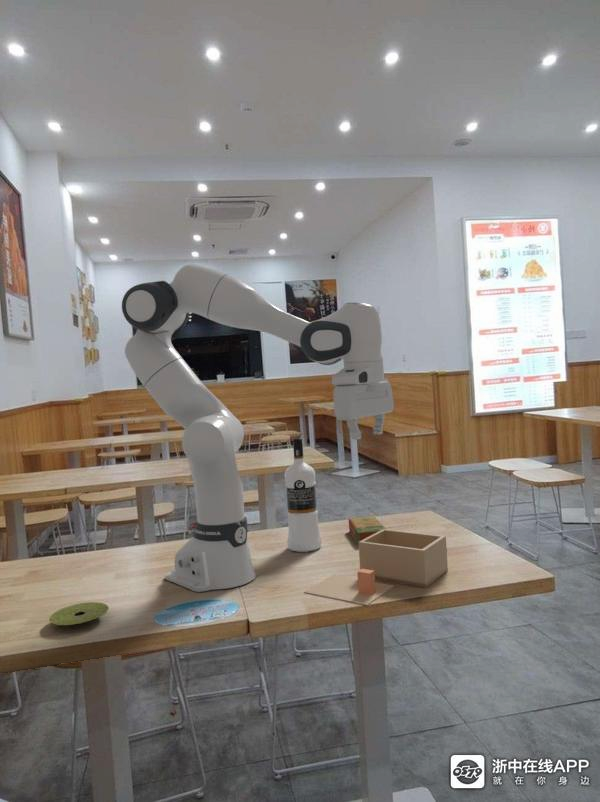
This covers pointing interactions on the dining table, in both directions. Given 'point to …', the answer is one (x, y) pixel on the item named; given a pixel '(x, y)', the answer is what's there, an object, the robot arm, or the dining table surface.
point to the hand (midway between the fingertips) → (367, 436)
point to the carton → (364, 527)
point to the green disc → (78, 613)
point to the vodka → (301, 503)
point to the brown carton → (404, 557)
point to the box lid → (351, 588)
